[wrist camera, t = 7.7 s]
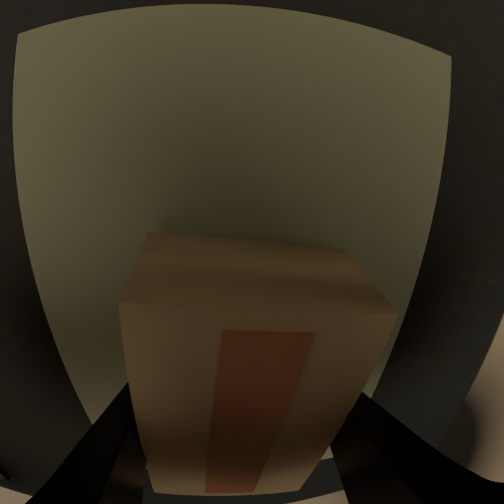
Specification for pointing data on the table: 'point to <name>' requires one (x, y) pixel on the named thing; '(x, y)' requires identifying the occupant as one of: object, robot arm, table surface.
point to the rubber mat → (217, 154)
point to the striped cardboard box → (245, 358)
